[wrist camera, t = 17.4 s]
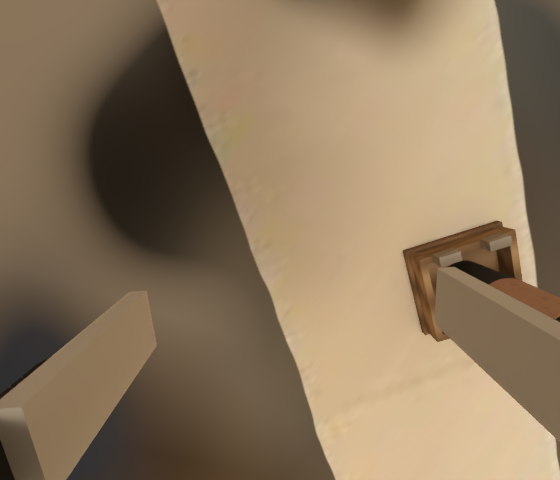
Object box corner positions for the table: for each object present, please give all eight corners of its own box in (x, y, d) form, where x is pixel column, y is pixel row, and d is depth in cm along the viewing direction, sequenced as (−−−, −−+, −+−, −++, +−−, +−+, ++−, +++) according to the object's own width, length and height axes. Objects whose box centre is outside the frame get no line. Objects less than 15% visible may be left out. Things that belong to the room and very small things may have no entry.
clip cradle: (402, 250, 46) (421, 261, 40) (497, 220, 45) (529, 227, 39) (422, 331, 49) (441, 352, 44) (510, 305, 48) (541, 323, 43)
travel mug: (494, 284, 46) (654, 365, 27) (453, 312, 47) (579, 410, 28) (469, 248, 45) (619, 306, 25) (428, 278, 46) (541, 356, 26)
